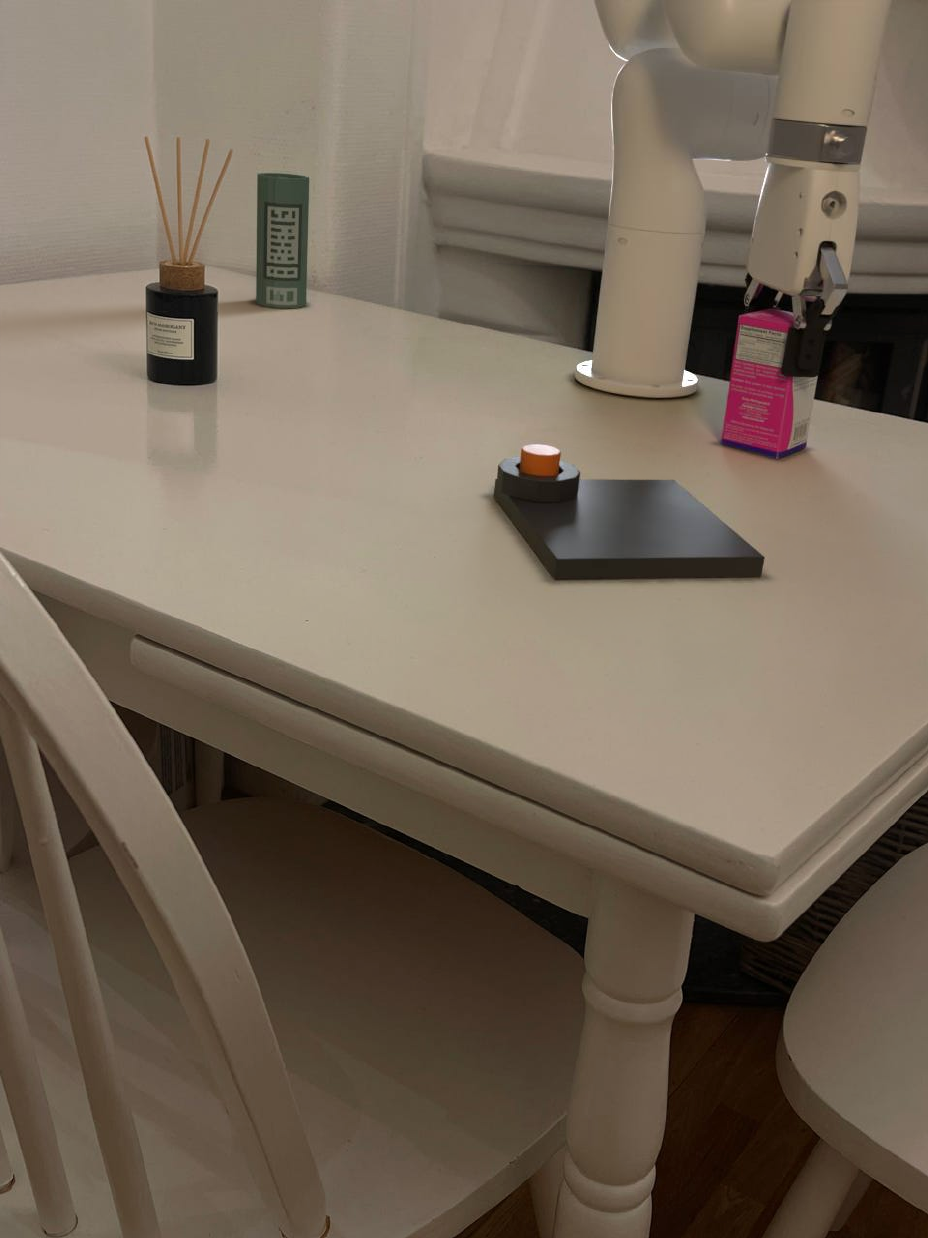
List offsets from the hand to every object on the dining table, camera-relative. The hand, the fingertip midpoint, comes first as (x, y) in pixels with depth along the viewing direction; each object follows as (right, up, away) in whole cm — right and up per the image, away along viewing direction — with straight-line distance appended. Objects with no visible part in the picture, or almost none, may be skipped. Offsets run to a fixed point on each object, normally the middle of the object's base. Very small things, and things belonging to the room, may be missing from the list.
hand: (776, 363), depth 108 cm
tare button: (-22, -12, -19) cm, 31 cm away
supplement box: (-1, -7, +3) cm, 8 cm away
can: (-50, +17, +48) cm, 71 cm away
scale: (-16, -16, -21) cm, 31 cm away
